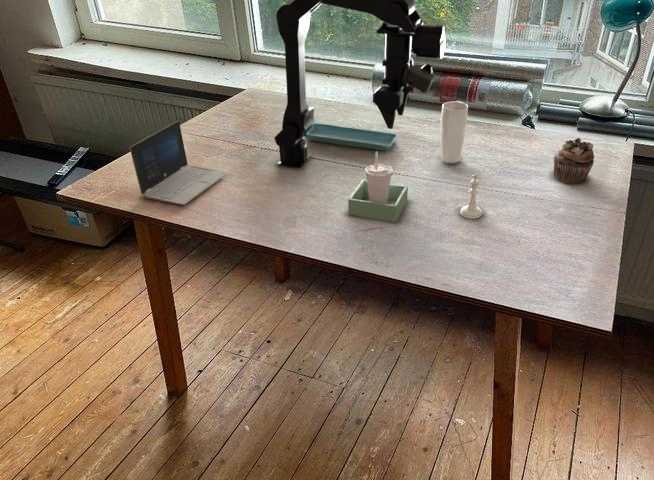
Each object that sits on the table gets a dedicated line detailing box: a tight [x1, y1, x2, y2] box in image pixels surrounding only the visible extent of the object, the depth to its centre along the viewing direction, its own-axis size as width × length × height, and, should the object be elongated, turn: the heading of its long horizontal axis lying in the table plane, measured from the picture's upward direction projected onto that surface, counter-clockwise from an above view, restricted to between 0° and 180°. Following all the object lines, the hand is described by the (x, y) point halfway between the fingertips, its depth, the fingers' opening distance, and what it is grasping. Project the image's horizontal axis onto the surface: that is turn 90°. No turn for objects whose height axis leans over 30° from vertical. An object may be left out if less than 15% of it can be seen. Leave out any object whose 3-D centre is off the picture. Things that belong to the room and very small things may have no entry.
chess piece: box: [459, 172, 483, 219], centre depth 128 cm, size 5×5×10 cm
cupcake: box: [553, 137, 595, 185], centre depth 142 cm, size 10×10×10 cm
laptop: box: [129, 120, 228, 206], centre depth 138 cm, size 18×12×13 cm
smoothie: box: [364, 150, 394, 204], centre depth 129 cm, size 6×6×14 cm
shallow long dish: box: [303, 122, 399, 152], centre depth 164 cm, size 26×9×2 cm, turn 72°
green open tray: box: [347, 179, 409, 223], centre depth 132 cm, size 11×10×4 cm
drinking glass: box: [440, 100, 469, 164], centre depth 149 cm, size 7×7×15 cm
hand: (395, 121), depth 137 cm, fingers open, 9 cm apart
